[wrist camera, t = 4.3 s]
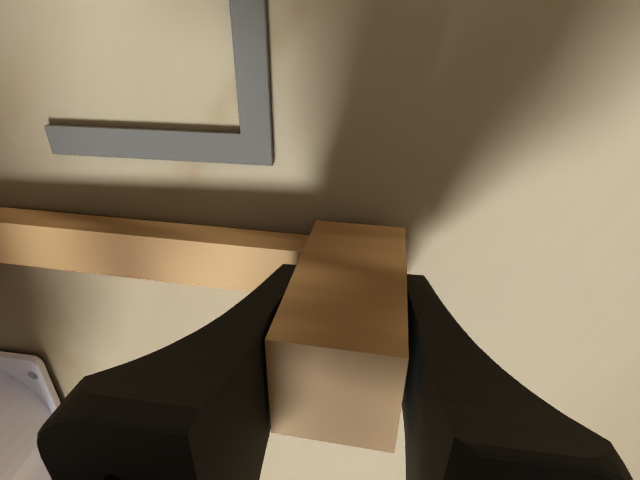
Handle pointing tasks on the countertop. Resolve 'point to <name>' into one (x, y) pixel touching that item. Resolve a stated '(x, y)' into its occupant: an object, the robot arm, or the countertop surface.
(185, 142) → the tape bracket
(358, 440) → the oak crook
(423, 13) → the countertop surface
